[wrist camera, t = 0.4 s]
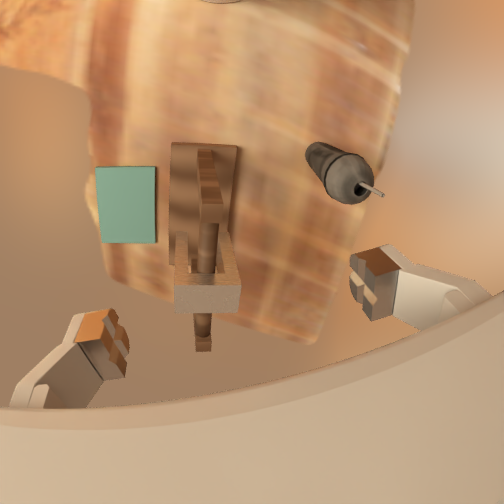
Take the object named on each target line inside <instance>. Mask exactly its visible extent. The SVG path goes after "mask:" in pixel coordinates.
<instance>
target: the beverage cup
mask: <svg viewBox="0 0 504 504" xmlns="http://www.w3.org/2000/svg"><path fill="white" fill-rule="evenodd" d="M305 157H306V160H307V162H308V164H309V166H310V167H311V168H312V169H313V171H314V172H315V173H316V175H317V176H318V177H319V179H320V180H321V181H322V183H323V185H324V187H325V189H326V192H327V194H328V195H329V196H330V197H331V198H333V199H335V200H337V201H339V202H341V203H343V204H351V205H352V204H357V203H360V202H362V201H364V200H365V199H366V198H367V197H368V196H369V195H370V193H371V192H374V193H375V194H377V195H379V196H381V197H384V196H385V194H384V193H382V192H380V191H378V190H377V189H375V188H373V186H374V175H373V172H372V169H371V168H370V166H369V165H368V164H367V162H366V161H365V160H364V158H362V157H361V156H359V155H358V154H353V153H347V152H345V151H342V150H340V149H338V148H335V147H333V146H331V145H328V144H325V143H322V142H314V143H313V144H311V145H310V146H309V147H308V148H307V150H306V153H305Z"/></svg>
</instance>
